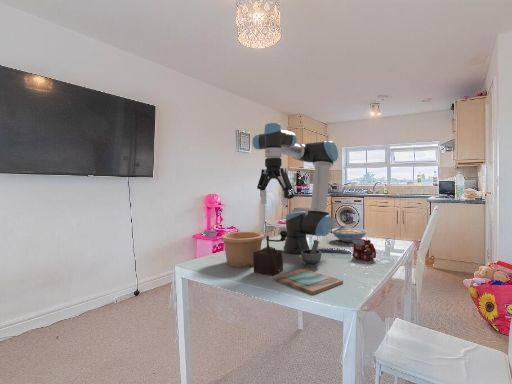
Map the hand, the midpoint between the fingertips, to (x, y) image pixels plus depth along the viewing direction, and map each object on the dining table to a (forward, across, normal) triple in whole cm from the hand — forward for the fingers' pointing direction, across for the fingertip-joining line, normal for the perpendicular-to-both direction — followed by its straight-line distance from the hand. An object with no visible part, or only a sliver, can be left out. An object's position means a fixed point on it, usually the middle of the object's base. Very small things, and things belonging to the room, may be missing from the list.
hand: (274, 204), depth 137 cm
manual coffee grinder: (+31, -3, +1) cm, 31 cm away
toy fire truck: (+31, +17, +48) cm, 60 cm away
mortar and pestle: (+31, +6, +20) cm, 37 cm away
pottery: (+31, -22, -1) cm, 38 cm away
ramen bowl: (+30, -13, +82) cm, 88 cm away
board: (+31, +19, 0) cm, 36 cm away
